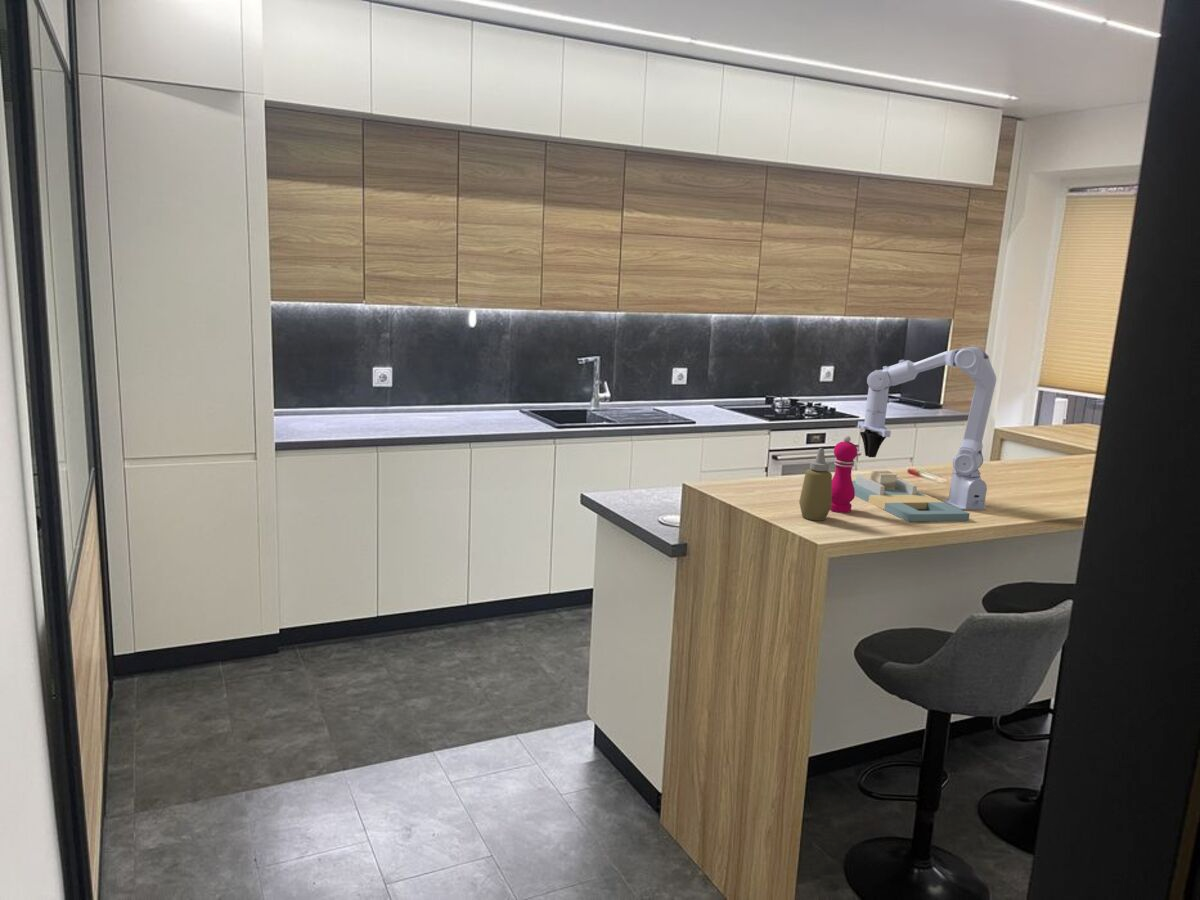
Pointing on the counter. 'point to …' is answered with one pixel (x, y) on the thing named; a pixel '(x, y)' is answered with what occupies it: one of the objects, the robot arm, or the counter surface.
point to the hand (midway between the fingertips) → (870, 456)
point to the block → (884, 478)
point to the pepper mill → (843, 476)
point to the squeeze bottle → (817, 489)
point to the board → (906, 501)
